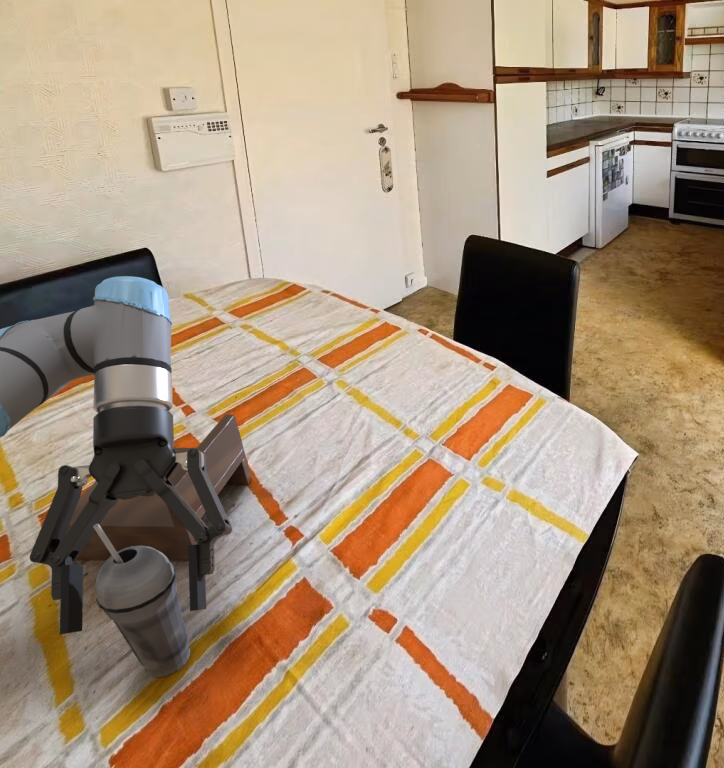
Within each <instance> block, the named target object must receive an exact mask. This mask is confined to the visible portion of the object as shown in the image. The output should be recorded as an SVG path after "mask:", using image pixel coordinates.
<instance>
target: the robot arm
mask: <svg viewBox="0 0 724 768" xmlns="http://www.w3.org/2000/svg"><path fill="white" fill-rule="evenodd" d="M92 300H93V301H92V302H93V305H90V306H87V307H83V308H80V309H77V310H73V311H70V312H65V313H59V314H55V315H51V316H46V317H42V318H38V319H31V320H27V319H26V320H23V321H18V322H17V323H15V324H14V325H10V326H6V327H3V328H0V439H1V438H2V437H5V435H6V434H7V433H8V432H9V431H10V430H11V429H12V428H13V427H14V426H15V425H17V424H18V423H19V422H20V421H21V420H23V419H24V418H25V417H27V416H28V415H30V413H31V412H33V411H34V410H35V409H37V408H39V407H40V406H42V405H43V404H45V402H47V401H49V400H50V399H51V398H52V397H53V396H55V395H56V394H57V393H58V392H60V391H61V390H62V389H63V388H65V387H66V386H67V385H68V384H70V383H71V382H73V381H75V380H78V379H81V378H85V377H90V376H94V377H93V378H94V379H93V404H92V405H93V406H92V408H93V410H94V411H95V412H96V414H95V415H94V417H93V421H92V422H93V423H92V424H93V426H92V432H93V433H92V435H93V436H92V448H93V457H92V460H91V462H89V464H87V465H86V464H85V465H79V466H70V465H68V464H64V465H61V466H60V467H59V468H58V471H57V488H56V491H55V494H54V496H53V498H52V501H51V503H50V506H49V508H48V511H47V513H46V515H45V518H44V520H43V522H42V524H41V527H40V529H39V532H38V535H37V537H36V539H35V542H34V545H33V547H32V549H31V552H30V554H29V560H30V562H32V563H33V564H34V563H35V564H37V563H38V564H42V565H47V566H49V567H50V568H51V583H50V584H51V587H50V588H51V589H50V596H51V597H52V600H53V601H60V607H59V635H60V636H61V635H66V634H73V633H80V632H83V618H84V617H83V613H84V609H83V607H84V605H83V604H84V564H78V562H76V561H77V560H76V559H77V558H78V556H79V555H80V553H81V552H82V550H83V549H84V547H85V546H86V544H87V543H88V541H89V540H90V538H91V537H92V535H93V534H94V532H95V531H96V530H95V529H94V525H96V524H99V525H100V523H101V522H102V520H103V519H104V517H105V516H106V514H107V513H108V511H109V510H110V508H112V507H113V506H115V504H116V503H117V501H118V500H119V499H122V500H126V499H132V498H134V497H137V496H154V494H155V493H156V494H157V495H158V496H160V497H161V498H162V500H163V501H164V502H165V503H166V504H167V506H168V507H169V508H170V509H171V511H172V512H173V513H174V514H175V515H176V517H177V518H178V519H179V520H180V521H181V523H182V524H183V525H184V526H185V527H186V529H187V530H188V531H189V532H190V533H191V535H192V536H193V537H194V538H195V539H196V540H194V541H196V542H197V544H194V545H188V561H187V563H188V592H189V595H188V596H189V612H195V611H200V610H207V588H206V587H207V586H206V585H207V584H206V576H209V575H214V572H215V569H216V565H215V561H216V560H215V543H216V542H217V541H218V540H219V539H221V538H223V537H224V536H227V535H230V534H232V532H233V526H232V524H231V522H230V520H229V518H228V515H227V513H226V511H225V508H224V506H223V505H222V502H221V500H220V498H219V496H218V495H217V493H216V491H215V489H214V487H213V485H212V482H211V480H210V478H209V476H208V474H207V470H206V455H205V454H204V453H202V452H201V451H199V450H197V449H195V448H196V447H191V448H192V449H190V450H189V451H188V452H183V453H176V452H175V450H174V448H175V445H174V443H175V436H174V435H175V434H174V432H175V431H174V414H173V413H171V411H170V410H172V409H173V406H174V405H173V404H174V403H173V373H172V372H173V371H172V370H173V368H172V326H173V320H172V317H171V307H170V297H169V294H168V292H167V290H166V289H165V288H164V287H163V286H162V285H160V284H157V283H156V282H155V281H153V280H150V279H148V278H144V277H139V276H128V275H124V276H112V277H109V278H106V279H104V280H102V281H101V283H99V284H97V285H96V287H95V289H94V295H93V297H92ZM178 464H181V466H182V468H183V469H184V470H186V471H188V473H189V476H190V478H191V480H192V483H193V485H194V487H195V489H196V491H197V494H198V496H199V498H200V500H201V503H202V505H203V507H204V509H205V511H206V512H205V514H206V516H207V518H208V520H209V523H210V525H211V526H210V527H208V526H207V524H206V523H205V522H204V521H203V520H202V518H201V519H200V517H199V516H198V515H197V514H196V513H195V511H194V510H193V509H192V508H191V507H190V505H189V504H188V503H187V502H186V501H185V499H184V498H183V497H182V496H181V495H180V493H179V491H178V490H177V488H176V487H175V486H174V485H173V484H172V482H171V481H170V480H169V479H168V478H169V477H170V475H171V474H172V473H173V471H174V470H175V468H176V467H177V465H178ZM89 478H93V479H94V480H95V481H97V482H98V484H97V486H96V487H95V489H94V490H93V492H92V493H91V495H90V496H89V501H88V503H87V505H86V506H85V508H84V509H83V510H82V512H81V513H80V515H79V516H78V518H77V519H76V521H75V522H74V524H73V525H72V527H71V528H70V530H69V531H68V533H67V534H66V536H65V533H66V531H67V528H68V526H69V523H70V521H71V518H72V516H73V513H74V511H75V508H76V506H77V503H78V501H79V498H80V496H81V495H82V492H83V487H85V486H86V485H87V484H88V480H89ZM64 536H65V537H64Z"/></svg>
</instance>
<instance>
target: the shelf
mask: <svg viewBox="0 0 724 768" xmlns="http://www.w3.org/2000/svg"><path fill="white" fill-rule="evenodd" d="M192 448H193V447H174V450H175V452H176V453H183V452H188V451H189V450H190V449H192ZM194 448H195V449H197V450H199V451H201V452H202V453H204V454H205V455H206V470H207V474H208V476H209V478H210V480H211V482H212V485H213V487H214V489H215V491H216V493H217V496H218V495H219V494H220V492H221V491H222V490H223V489H224V486H249V484H251V482H252V480H253V478H252V474H251V469H250V466H249V463H248V459H247V456H246V452H245V451H246V450H245V447H244V444H243V439H242V436H241V433H240V429H239V426H238V422H237V417H236V414H224V415H223V417H222V418H221V419H219V420H218V422H217V424H215V426H214V427H213V428H212V429H211V430H210V431H209V433H208V434H207V435H206V436H205V438H204V439H202V440H201V442H200V444H198V446H197V447H194ZM168 479H169V480H170V481H171V482H172V484H173V485H174V486H175V487H176V488H177V490H178V491H179V493H180V495H181V496H182V497H183V498H184V499H185V501H186V502H187V503H188V504H189V505H190V507H191V508H192V509H193V510H194V511H195V513H196V514H197V515H198V516H199V517H200V519H201V520H202V518H203V516H204V515H205V514H206V511H205V509H204V507H203V505H202V503H201V500H200V498H199V496H198V494H197V491H196V489H195V487H194V485H193V483H192V480H191V478H190V476H189V473H188V471H186V470H184V469H183V468H182V466H181V464H178V465H177V467H176V468H175V470H174V471H173V473H172V474H171V475H170V477H169V478H168ZM97 484H98V482H97V481H96V480H95V481H94V482H93V483H92V484H91V485H90V486H89V487H88V488H87V489H86V490H85V491H84V492H83V493H81V495H80V498H79V501H78V503H77V506H76V508H75V511H74V513H73V516H72V518H71V521H70V523H69V526H68V528H67V531H66V533H65V536H66V534H67V533H68V531H69V530H70V528H71V527H72V525H73V524H74V522H75V521H76V519H77V518H78V516H79V515H80V513H81V512H82V510H83V509H84V508H85V506H86V505H87V503H88V501H89V496H90V495H91V493H92V492H93V490H94V489H95V487H96V486H97ZM100 527H101V528H102V530H103V531H104V533H105V534H106V536H107V537H108V539H109V540H110V542H111V544H112V545H113V547H114V548H115V550H116V551H117V552H118V551H120V550H122V549H124V548H128V547H131V546H147V547H152V548H154V549H156V550H158V551H160V552H162V553H163V554H164V555H165V556H166V557H167V558H168V560H169V561H170V562H188V545H194V544H197V542H196V541H194V540H196V539H195V538H194V537H193V536H192V535H191V533H190V532H189V531H188V530H187V529H186V527H185V526H184V525H183V524H182V523H181V521H180V520H179V519H178V518H177V517H176V515H175V514H174V513H173V512H172V511H171V509H170V508H169V507H168V506H167V504H166V503H165V502H164V501H163V500H162V498H161V497H160V496H158V495H157V494H156V493H155V494H154V496H137V497H134V498H132V499H126V500H122V499H119V500H118V501H117V503H116V504H115V506H113V507H112V508H110V510H109V511H108V513H107V514H106V516H105V517H104V519H103V520H102V522H101V523H100ZM65 536H64V537H65ZM111 556H112V555H111V553H110V552H109V550H108V549H107V547H106V546H105V544H104V543H103V541H102V540H101V538H100V537H99V535H98V533H97V532H96V531H95V532H94V534H93V535H92V537H91V538H90V540H89V541H88V543H87V544H86V546H85V547H84V549H83V550H82V552H81V553H80V555H79V556H78V558H77V559H76V561H106V560H107V559H108V558H109V557H111Z"/></svg>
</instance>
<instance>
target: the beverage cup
mask: <svg viewBox="0 0 724 768" xmlns="http://www.w3.org/2000/svg"><path fill="white" fill-rule="evenodd" d="M94 529H95V530H96V532H97V533H98V535H99V537H100V538H101V540H102V541H103V543H104V544H105V546H106V547H107V549H108V550H109V552H110V553H111V555H112V556H111V557H109V558H108V559H107V560H104V562H103V563H102V565H101V567H100V568H99V570H98V571H97V574H96V579H95V585H94V586H95V587H94V591H95V595H96V597H95V598H96V603H97V605H98V608H99V609H100V610H103V612H104V613H105V615H107V617H108V618H109V619H110V620H112V621H113V623H114V624H115V626H116V628H117V629H118V631H119V633H120V635H122V637H123V638H124V640H125V642H126V643H127V645H128V646H129V648H130V649H131V651H132V653H133V655H134V656H135V657H136V660H137V661H138V662H139V664H140V666H141V667H143V669H144V670H145V671H146V673H147V675H149V676H150V677H153V678H164V677H168V676H170V675H173V674H174V673H176V672H177V671H180V669H182V668H183V667H184V666H185V665H186V663H188V661H189V658H190V656H191V648H190V643H189V637H188V631H187V628H186V624H185V619H184V615H183V611H182V607H181V603H180V599H179V595H178V590H177V589H178V587H177V584H178V583H177V569H176V568H175V566H174V565H173V563H172V561H169V560H168V558H167V557H166V556H165V555H164V554H163V553H162V552H160V551H158V550H156V549H154V548H152V547H147V546H131V547H128V548H124V549H122V550H120V551H118V552H117V551H116V550H115V548H114V547H113V545H112V544H111V542H110V540H109V539H108V537H107V536H106V534H105V533H104V531H103V530H102V528H101V527H100V525H99V524H96V525H94Z"/></svg>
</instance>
